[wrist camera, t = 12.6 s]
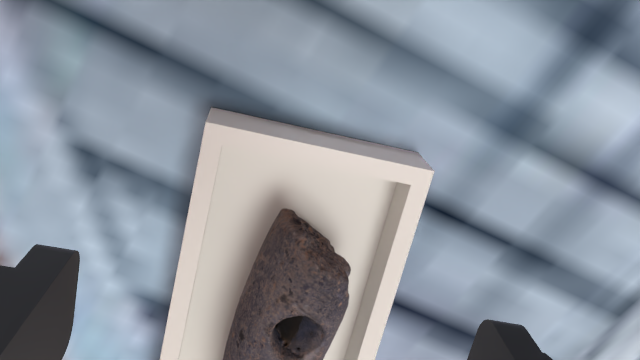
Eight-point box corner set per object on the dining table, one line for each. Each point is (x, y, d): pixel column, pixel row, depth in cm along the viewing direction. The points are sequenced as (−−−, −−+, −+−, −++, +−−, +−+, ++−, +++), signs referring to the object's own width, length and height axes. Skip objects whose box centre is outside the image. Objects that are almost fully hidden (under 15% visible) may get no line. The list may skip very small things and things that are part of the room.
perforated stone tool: (268, 417, 39) (269, 508, 32) (189, 395, 38) (174, 484, 31) (363, 214, 35) (386, 270, 28) (277, 183, 34) (281, 234, 27)
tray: (418, 152, 35) (434, 171, 32) (325, 454, 41) (331, 496, 38) (211, 107, 33) (205, 121, 30) (148, 431, 40) (137, 472, 36)
